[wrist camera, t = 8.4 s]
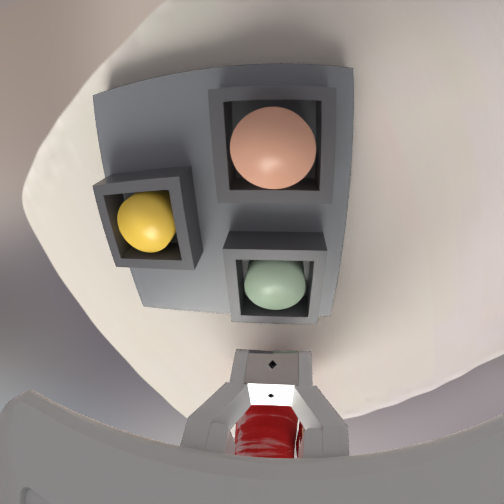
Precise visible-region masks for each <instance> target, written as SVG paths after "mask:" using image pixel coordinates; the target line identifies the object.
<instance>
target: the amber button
mask: <svg viewBox="0 0 504 504" xmlns="http://www.w3.org/2000/svg"><path fill="white" fill-rule="evenodd" d="M117 222H118V227H119V230H120V232H121V234H122V236H123V237H124V239H125V240H126V241H127V242H128V243H129V244H130V245H131V246H133V247H134V248H136V249H138V250H140V251H143V252H150V253H151V252H158V251H160V250H162V249H164V248H165V247H166V246H167V245H168V243H169V242H170V241H171V239H172V238H173V236H174V235H175V233H176V228H175V222H174V217H173V211H172V205H171V200H170V194H169V192H167V191H166V190H158V191H145V192H136V193H134V194H133V195H132V196H131V197H129V198H128V199H127V200H126V201H124V202H123V203H122V205H121V206H120V208H119V211H118V215H117Z"/></svg>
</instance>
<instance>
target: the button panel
mask: <svg viewBox="0 0 504 504" xmlns="http://www.w3.org/2000/svg"><path fill="white" fill-rule="evenodd" d="M93 102H94V112H95V120H96V127H97V134H98V141H99V147H100V153H101V158H102V164H103V169H104V174H105V178H104V179H103V180H101V181H100V182H98V183H96V184H95V185H93V190H94V194H95V198H96V202H97V206H98V210H99V214H100V217H101V221H102V224H103V228H104V231H105V234H106V238H107V241H108V244H109V247H110V250H111V253H112V256H113V259H114V262H115V265H116V267H130V270H131V273H132V276H133V279H134V282H135V285H136V288H137V291H138V293H139V296H140V299H141V301H142V304H143V306H144V307H153V308H163V309H174V310H185V311H198V312H212V313H228V314H231V321H232V322H246V323H271V324H317V322H318V316H331V311H332V306H333V301H334V296H335V290H336V285H337V279H338V273H339V267H340V261H341V254H342V247H343V240H344V233H345V225H346V216H347V207H348V198H349V187H350V175H351V161H352V143H353V112H354V80H353V68H348V67H339V66H328V65H313V64H251V65H236V66H224V67H215V68H207V69H199V70H193V71H186V72H181V73H175V74H170V75H165V76H160V77H155V78H151V79H147V80H143V81H139V82H135V83H131V84H127V85H124V86H120V87H117V88H114V89H110V90H107V91H104V92H101V93H98V94H95V95H93ZM270 106H278V107H283V108H286V109H289V110H291V111H293V112H295V113H296V114H298V115H299V116H300V117H301V118H302V119H303V120H304V121H305V122H306V123H307V124H308V126H309V127H310V129H311V131H312V133H313V135H314V138H315V142H316V156H315V160H314V163H313V166H312V167H311V169H310V171H309V172H308V173H307V175H306V176H305V177H304V178H303V179H301V180H300V181H299V182H297V183H296V184H294V185H291V186H289V187H286V188H281V189H267V188H262V187H259V186H256V185H254V184H252V183H250V182H249V181H247V180H246V179H245V178H244V177H243V176H242V175H241V174H240V173H239V172H238V171H237V169H236V167H235V166H234V163H233V161H232V158H231V153H230V141H231V137H232V134H233V131H234V129H235V128H236V126H237V124H238V123H239V122H240V121H241V120H242V119H243V118H244V117H245V116H246V115H248V114H249V113H251V112H253V111H255V110H258V109H260V108H264V107H270ZM158 190H166V191H167V192H169V194H170V200H171V205H172V211H173V217H174V222H175V228H176V233H175V235H174V236H173V238H172V239H171V241H170V242H169V243H168V245H167V246H166V247H165V248H164V249H162V250H160V251H158V252H151V253H150V252H143V251H140V250H138V249H136V248H134V247H133V246H131V245H130V244H129V243H128V242H127V241H126V240H125V239H124V237H123V236H122V234H121V232H120V230H119V227H118V222H117V215H118V211H119V208H120V206H121V205H122V203H123V202H124V201H126V200H127V199H128V198H129V197H131V196H132V195H133V194H134V193H136V192H145V191H158ZM250 260H284V261H302V263H303V266H304V274H305V292H304V295H303V297H302V298H301V300H300V301H299V302H297V303H296V304H295V305H293V306H291V307H289V308H286V309H281V310H270V309H266V308H262V307H260V306H258V305H256V304H255V303H253V302H252V301H251V300H250V299H249V297H248V296H247V294H246V292H245V288H244V283H245V278H246V273H247V268H248V264H249V261H250Z"/></svg>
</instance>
